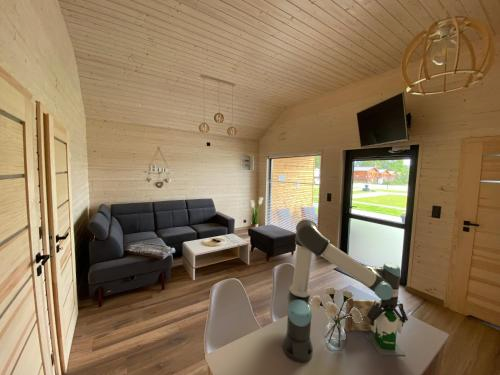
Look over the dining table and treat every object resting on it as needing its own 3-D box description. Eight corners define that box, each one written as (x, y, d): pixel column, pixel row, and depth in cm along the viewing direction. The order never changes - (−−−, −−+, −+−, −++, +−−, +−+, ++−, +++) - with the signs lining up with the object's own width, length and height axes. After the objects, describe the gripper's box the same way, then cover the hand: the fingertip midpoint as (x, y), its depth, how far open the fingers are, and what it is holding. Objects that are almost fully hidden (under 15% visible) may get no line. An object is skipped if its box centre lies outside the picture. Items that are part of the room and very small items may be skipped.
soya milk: (380, 350, 111) (383, 313, 109) (372, 336, 120) (374, 302, 118) (398, 351, 110) (401, 315, 108) (388, 338, 119) (391, 304, 117)
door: (352, 332, 123) (355, 302, 121) (350, 328, 126) (352, 299, 124) (384, 333, 123) (387, 303, 121) (381, 329, 126) (383, 300, 124)
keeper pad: (379, 354, 109) (379, 354, 109) (366, 334, 122) (366, 334, 122) (405, 355, 109) (405, 354, 109) (389, 335, 122) (389, 334, 121)
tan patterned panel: (347, 331, 124) (349, 298, 122) (344, 326, 127) (346, 295, 125) (389, 332, 123) (392, 300, 122) (385, 328, 127) (388, 296, 125)
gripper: (369, 297, 109) (366, 335, 111) (418, 298, 109) (414, 337, 111) (362, 288, 116) (359, 325, 118) (408, 290, 116) (404, 326, 118)
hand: (385, 331), depth 114 cm, fingers open, 13 cm apart
